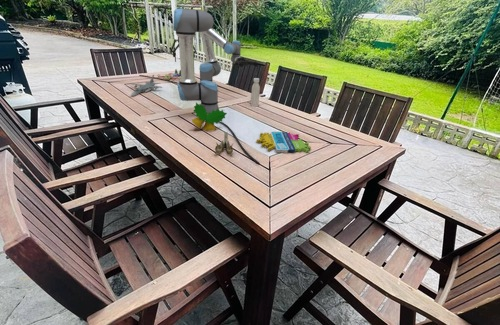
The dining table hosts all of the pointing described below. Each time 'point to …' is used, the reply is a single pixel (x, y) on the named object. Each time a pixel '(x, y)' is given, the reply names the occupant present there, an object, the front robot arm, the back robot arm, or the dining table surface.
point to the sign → (283, 142)
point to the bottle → (255, 94)
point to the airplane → (145, 87)
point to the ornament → (207, 117)
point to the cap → (256, 79)
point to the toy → (171, 75)
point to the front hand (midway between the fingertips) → (184, 61)
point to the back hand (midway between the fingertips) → (249, 65)
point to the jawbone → (224, 145)
